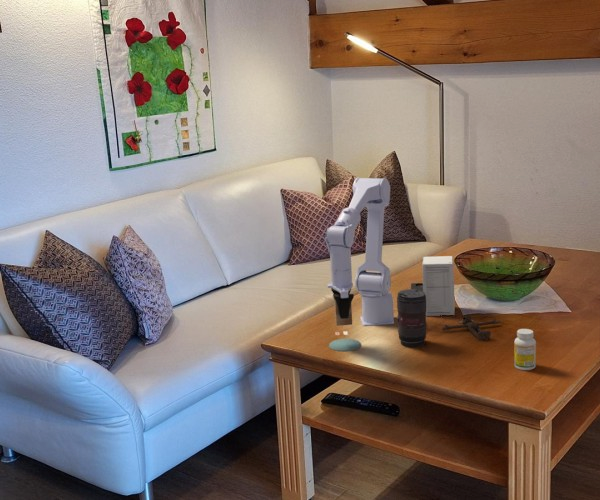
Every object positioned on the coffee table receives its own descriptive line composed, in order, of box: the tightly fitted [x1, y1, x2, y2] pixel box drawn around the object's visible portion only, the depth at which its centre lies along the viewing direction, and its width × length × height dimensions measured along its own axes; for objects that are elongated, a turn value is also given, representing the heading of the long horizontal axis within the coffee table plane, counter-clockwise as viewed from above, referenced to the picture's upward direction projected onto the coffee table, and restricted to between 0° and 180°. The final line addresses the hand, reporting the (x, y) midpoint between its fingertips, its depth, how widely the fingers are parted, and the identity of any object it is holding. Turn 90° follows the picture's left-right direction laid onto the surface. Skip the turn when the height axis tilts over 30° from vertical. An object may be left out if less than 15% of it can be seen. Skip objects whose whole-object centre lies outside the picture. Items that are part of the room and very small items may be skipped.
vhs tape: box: [410, 282, 423, 291], centre depth 277 cm, size 14×8×2 cm, turn 172°
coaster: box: [328, 338, 362, 352], centre depth 234 cm, size 9×9×1 cm
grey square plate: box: [334, 330, 349, 336], centre depth 243 cm, size 10×10×1 cm
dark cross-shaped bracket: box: [441, 314, 501, 341], centre depth 238 cm, size 18×4×14 cm
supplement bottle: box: [513, 328, 537, 371], centre depth 211 cm, size 5×5×10 cm
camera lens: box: [396, 288, 427, 348], centre depth 231 cm, size 8×8×15 cm
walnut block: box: [333, 298, 353, 326], centre depth 231 cm, size 4×4×7 cm
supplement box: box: [421, 255, 456, 317], centre depth 256 cm, size 10×9×17 cm
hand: (343, 315), depth 232 cm, fingers closed on walnut block, 4 cm apart
